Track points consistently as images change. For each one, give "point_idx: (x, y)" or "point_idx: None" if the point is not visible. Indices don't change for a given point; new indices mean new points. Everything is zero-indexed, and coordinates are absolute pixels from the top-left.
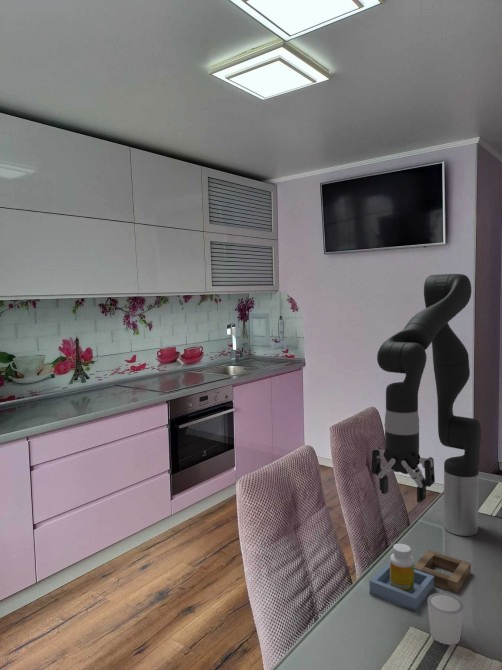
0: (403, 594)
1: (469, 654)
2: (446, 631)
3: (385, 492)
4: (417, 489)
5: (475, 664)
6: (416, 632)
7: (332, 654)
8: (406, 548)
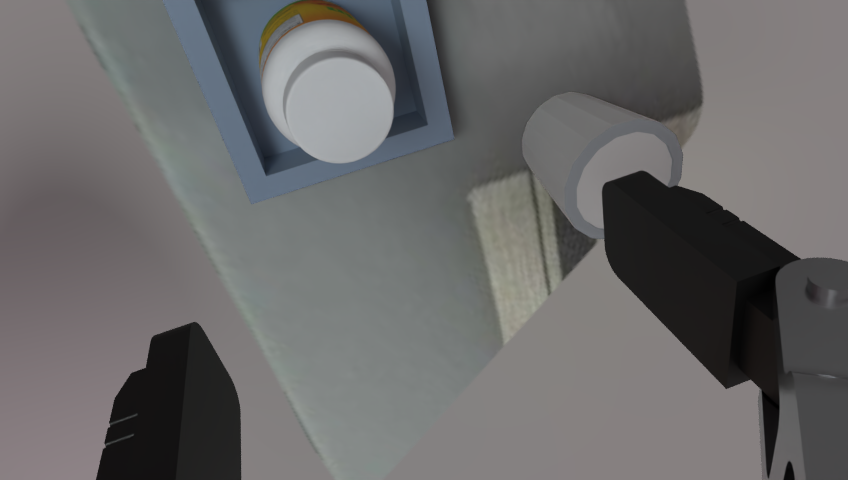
0: (403, 153)
1: None
2: None
3: (225, 381)
4: (710, 363)
5: None
6: (497, 199)
7: (402, 420)
8: (365, 98)
